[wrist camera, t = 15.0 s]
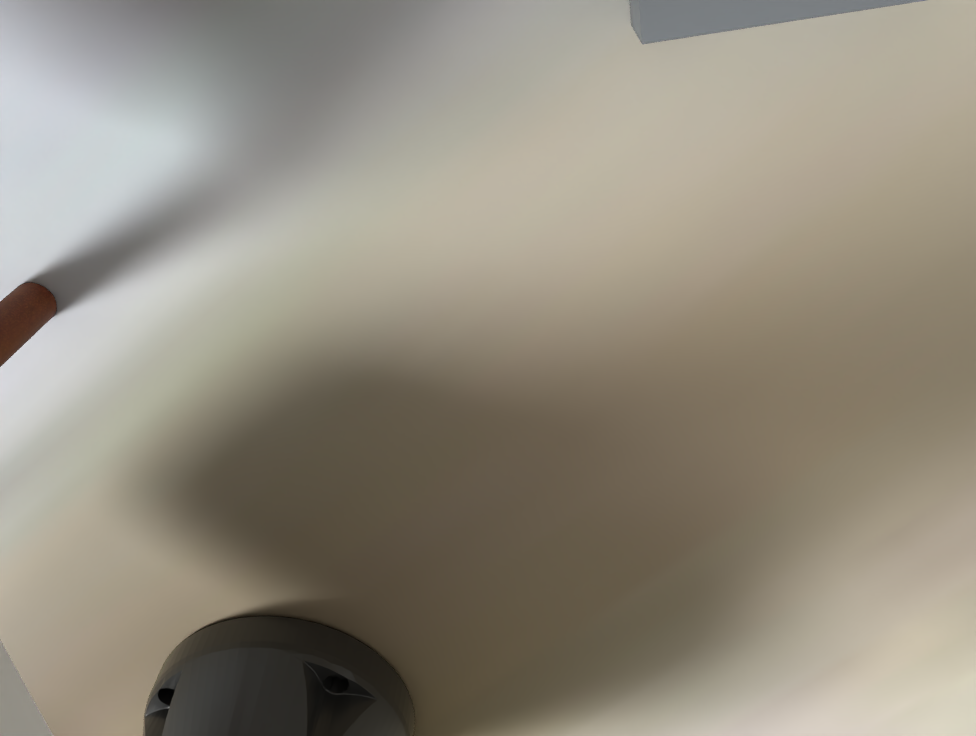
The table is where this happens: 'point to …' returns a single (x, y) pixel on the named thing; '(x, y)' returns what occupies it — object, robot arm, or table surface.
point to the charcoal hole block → (731, 14)
